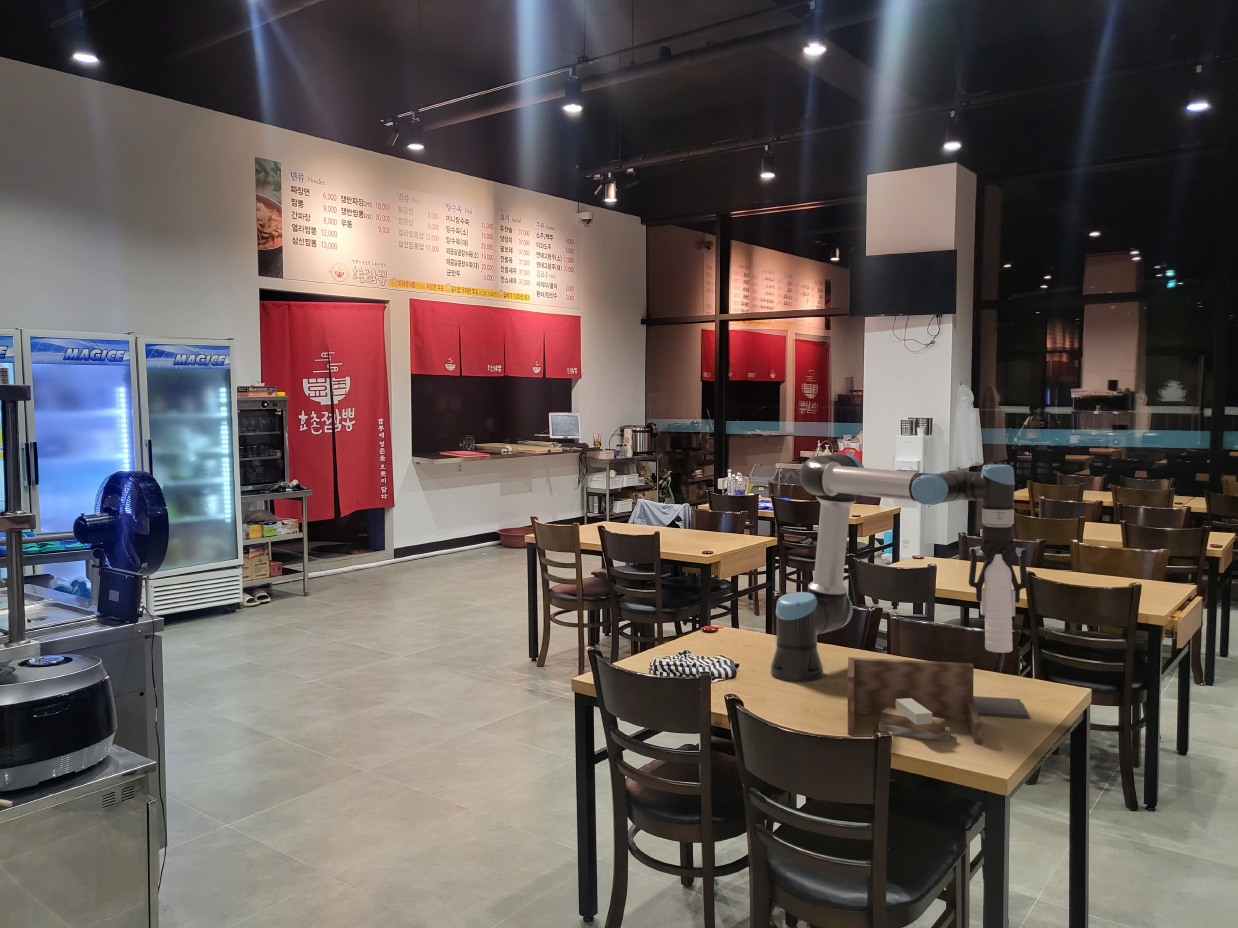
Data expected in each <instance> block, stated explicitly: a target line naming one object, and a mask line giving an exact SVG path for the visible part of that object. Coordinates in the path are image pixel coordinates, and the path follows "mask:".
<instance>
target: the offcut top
mask: <svg viewBox="0 0 1238 928" xmlns="http://www.w3.org/2000/svg"><path fill="white" fill-rule="evenodd" d="M896 710H897V711H899V712H900V713H901V714H903V715H904V716H905V717H907V718H908V719H909V720H911V721H912V722H913V723H915V724H916V725H918V724H932V712H930V711H929V710H927V709H926V708H924V707H923V706H922V705H920V704H919V703H917V702H916V701H914V700H913V699H912V698H906V699H896Z"/></svg>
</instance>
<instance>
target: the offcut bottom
mask: <svg viewBox="0 0 1238 928" xmlns="http://www.w3.org/2000/svg"><path fill="white" fill-rule="evenodd" d="M879 730H884V731H890V732H892V734H891V735H893V736H894V735H895V736H903V737H911V738H912V737H913V738H919V739H929V740H938V741H946V742H949V741H950V739H951V727H950V726H945V730H944V731H943V732H941V733H940V734H934V733H930V732H925V731H921V730H916V729H911V728H907V727H902V726H898V725H893V724H889V723H884V722H881V719H880V720H879V723H878V731H879Z"/></svg>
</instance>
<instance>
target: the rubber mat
mask: <svg viewBox="0 0 1238 928" xmlns="http://www.w3.org/2000/svg"><path fill="white" fill-rule="evenodd" d="M973 702H974V705H975V707H976V710H977V712H978V715H979V716H985V717H986V716H987V717H997V718H998V717H1000V718H1001V717H1003V718H1013V719H1014V718H1016V719H1017V718H1018V719H1029V718H1030V717H1029V716H1030V715H1029V713H1028V712H1027V710H1026V708H1025V706H1024V705H1023V703H1022V701H1021V699H1020V698H1010V697H1009V698H1008V697H992V696H979V695H978V696H974V695H973Z"/></svg>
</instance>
